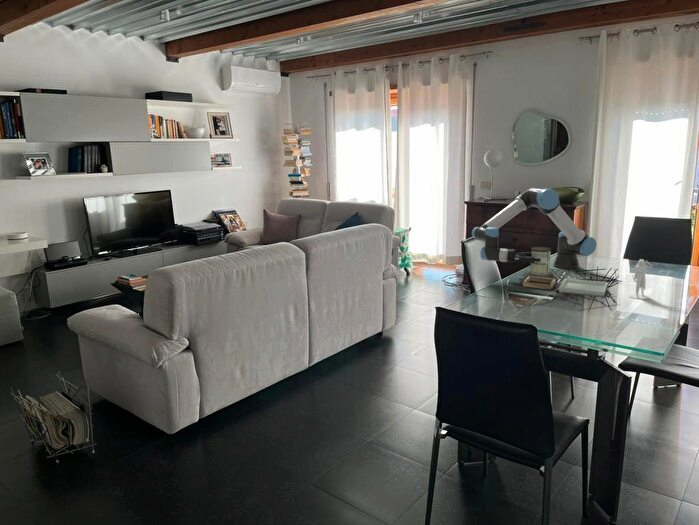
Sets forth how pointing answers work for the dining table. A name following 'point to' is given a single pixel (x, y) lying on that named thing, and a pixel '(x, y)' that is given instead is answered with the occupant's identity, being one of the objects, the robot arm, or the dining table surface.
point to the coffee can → (538, 266)
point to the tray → (583, 287)
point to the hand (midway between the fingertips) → (548, 258)
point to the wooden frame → (539, 285)
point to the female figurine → (640, 279)
